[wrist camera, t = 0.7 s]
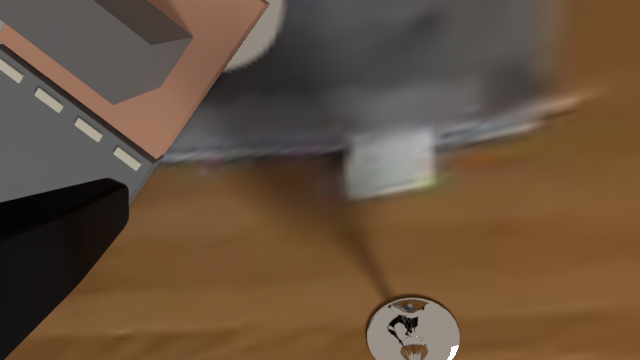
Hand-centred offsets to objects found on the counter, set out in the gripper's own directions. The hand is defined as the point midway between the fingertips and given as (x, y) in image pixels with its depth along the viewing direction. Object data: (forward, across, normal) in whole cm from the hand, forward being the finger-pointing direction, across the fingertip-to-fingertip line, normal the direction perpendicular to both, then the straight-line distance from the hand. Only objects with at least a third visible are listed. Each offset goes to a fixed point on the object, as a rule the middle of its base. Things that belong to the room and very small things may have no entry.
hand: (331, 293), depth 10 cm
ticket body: (+8, +16, +10) cm, 20 cm away
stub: (+11, +13, +2) cm, 17 cm away
